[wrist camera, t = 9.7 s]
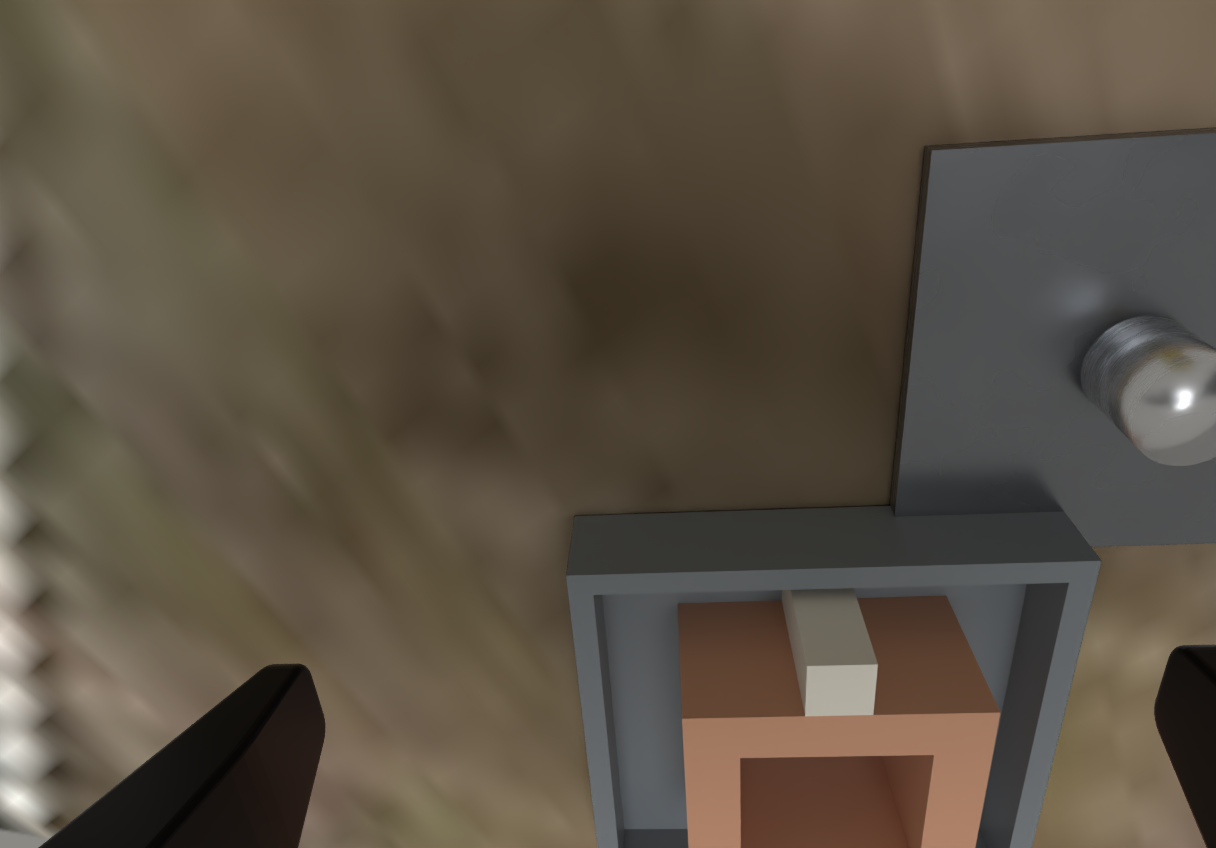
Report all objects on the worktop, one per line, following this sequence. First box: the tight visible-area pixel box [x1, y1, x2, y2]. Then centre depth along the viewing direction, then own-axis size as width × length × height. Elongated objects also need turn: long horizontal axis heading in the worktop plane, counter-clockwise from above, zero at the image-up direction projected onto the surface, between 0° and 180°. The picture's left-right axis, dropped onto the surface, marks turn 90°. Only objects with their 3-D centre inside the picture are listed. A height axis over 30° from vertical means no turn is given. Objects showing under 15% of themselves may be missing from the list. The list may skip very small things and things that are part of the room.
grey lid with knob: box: [890, 128, 1216, 547], centre depth 19 cm, size 10×10×3 cm
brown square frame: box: [678, 588, 1000, 848], centre depth 22 cm, size 8×7×4 cm
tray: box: [566, 506, 1101, 848], centre depth 24 cm, size 12×12×2 cm
